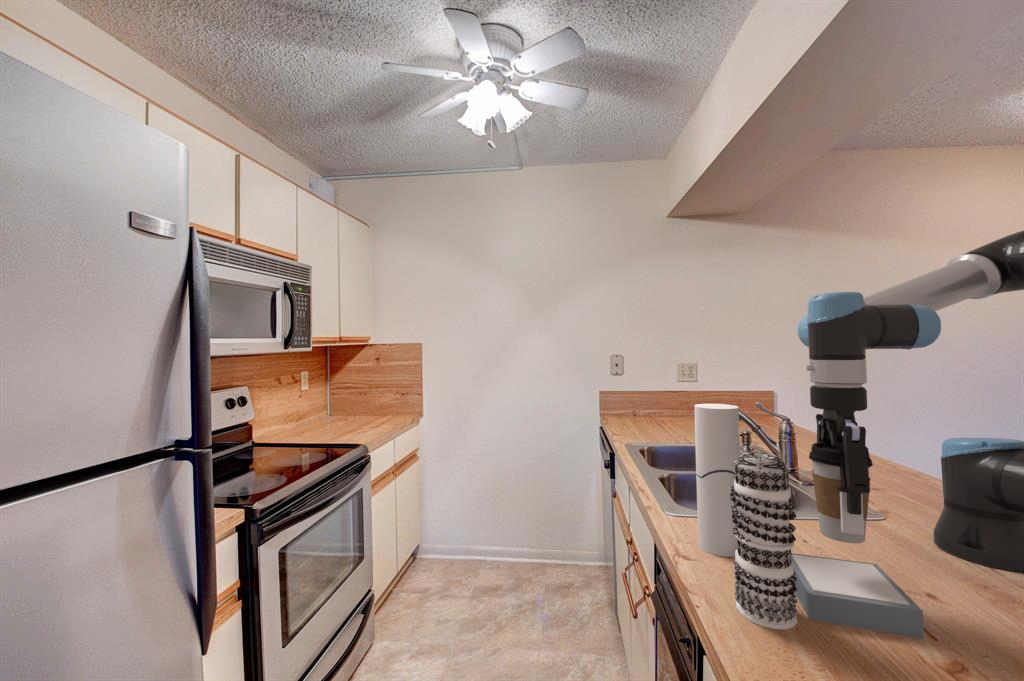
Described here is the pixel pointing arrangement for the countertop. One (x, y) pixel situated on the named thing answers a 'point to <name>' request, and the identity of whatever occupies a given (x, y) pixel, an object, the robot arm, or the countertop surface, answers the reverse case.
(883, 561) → the countertop surface
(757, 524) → the decorative candle
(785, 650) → the countertop surface
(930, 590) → the countertop surface
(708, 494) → the container
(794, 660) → the countertop surface
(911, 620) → the podium
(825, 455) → the coffee cup
